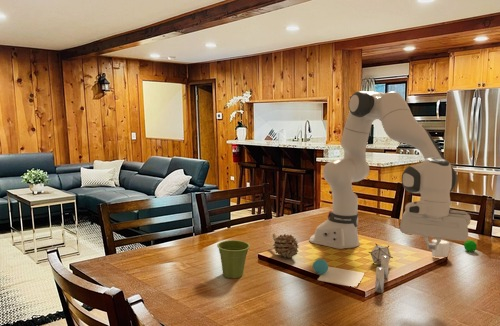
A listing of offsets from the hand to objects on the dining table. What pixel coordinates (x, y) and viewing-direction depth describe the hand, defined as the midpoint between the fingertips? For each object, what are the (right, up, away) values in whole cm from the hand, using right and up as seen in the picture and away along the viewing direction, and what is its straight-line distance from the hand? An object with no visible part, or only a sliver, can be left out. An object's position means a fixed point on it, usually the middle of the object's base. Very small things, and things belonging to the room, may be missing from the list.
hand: (431, 249), depth 131 cm
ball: (-34, -10, +16) cm, 39 cm away
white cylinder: (+19, -11, +35) cm, 42 cm away
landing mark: (-26, -13, +14) cm, 33 cm away
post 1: (-16, -15, +3) cm, 22 cm away
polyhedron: (+37, -11, +44) cm, 58 cm away
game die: (-8, -12, +27) cm, 30 cm away
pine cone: (-46, -10, +37) cm, 60 cm away
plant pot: (-66, -13, +15) cm, 69 cm away
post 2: (-11, -13, +14) cm, 22 cm away
